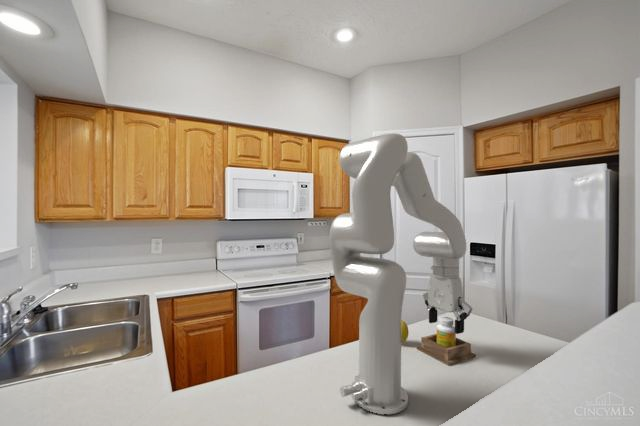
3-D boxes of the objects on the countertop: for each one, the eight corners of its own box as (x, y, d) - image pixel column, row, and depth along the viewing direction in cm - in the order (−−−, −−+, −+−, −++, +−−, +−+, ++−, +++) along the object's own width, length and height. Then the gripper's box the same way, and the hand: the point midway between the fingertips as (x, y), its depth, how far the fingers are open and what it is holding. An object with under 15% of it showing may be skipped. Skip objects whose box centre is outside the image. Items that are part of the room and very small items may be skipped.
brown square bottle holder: (448, 365, 83) (448, 352, 83) (416, 348, 93) (416, 336, 93) (476, 357, 88) (476, 344, 88) (443, 342, 99) (443, 330, 99)
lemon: (390, 345, 95) (390, 320, 96) (391, 339, 101) (391, 315, 101) (408, 348, 94) (408, 322, 94) (408, 341, 99) (408, 317, 99)
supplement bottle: (435, 352, 89) (435, 319, 90) (437, 345, 94) (437, 314, 94) (455, 356, 87) (455, 323, 87) (456, 349, 92) (456, 317, 92)
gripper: (416, 268, 97) (415, 320, 97) (462, 277, 82) (462, 339, 81) (432, 267, 101) (432, 317, 100) (479, 275, 85) (479, 335, 85)
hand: (445, 327), depth 91 cm, fingers open, 9 cm apart
